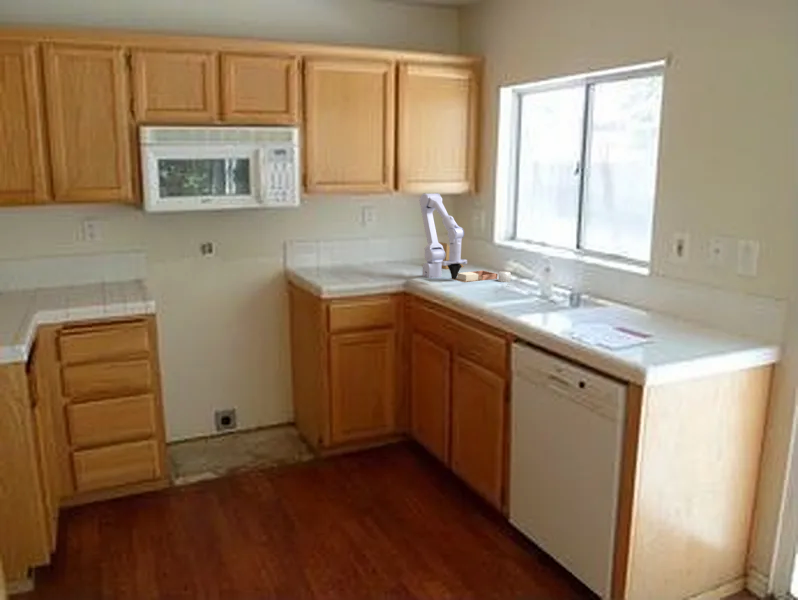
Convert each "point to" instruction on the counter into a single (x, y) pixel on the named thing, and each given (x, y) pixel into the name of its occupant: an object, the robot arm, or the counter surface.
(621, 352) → the counter surface
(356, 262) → the counter surface
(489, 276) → the open-sided wooden box
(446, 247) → the sandwich container
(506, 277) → the grey rounded piece
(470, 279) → the carton
